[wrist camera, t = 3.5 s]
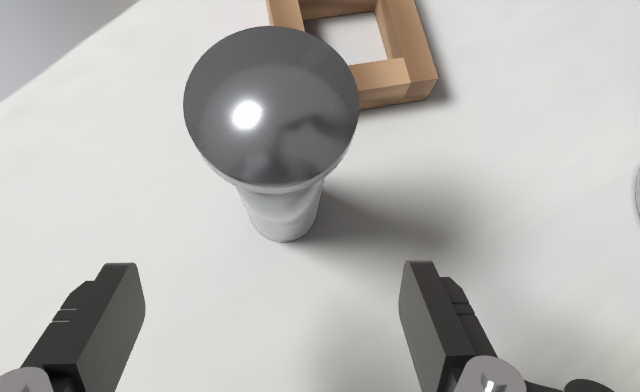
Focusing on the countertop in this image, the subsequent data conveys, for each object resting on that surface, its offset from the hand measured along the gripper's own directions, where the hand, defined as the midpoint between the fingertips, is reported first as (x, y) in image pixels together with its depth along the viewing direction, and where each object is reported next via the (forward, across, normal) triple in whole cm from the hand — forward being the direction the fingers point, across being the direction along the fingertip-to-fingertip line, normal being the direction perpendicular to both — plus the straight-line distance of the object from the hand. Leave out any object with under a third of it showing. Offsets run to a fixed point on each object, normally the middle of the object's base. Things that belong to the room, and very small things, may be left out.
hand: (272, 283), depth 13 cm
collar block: (+19, -4, -4) cm, 20 cm away
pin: (+12, 0, +4) cm, 12 cm away
